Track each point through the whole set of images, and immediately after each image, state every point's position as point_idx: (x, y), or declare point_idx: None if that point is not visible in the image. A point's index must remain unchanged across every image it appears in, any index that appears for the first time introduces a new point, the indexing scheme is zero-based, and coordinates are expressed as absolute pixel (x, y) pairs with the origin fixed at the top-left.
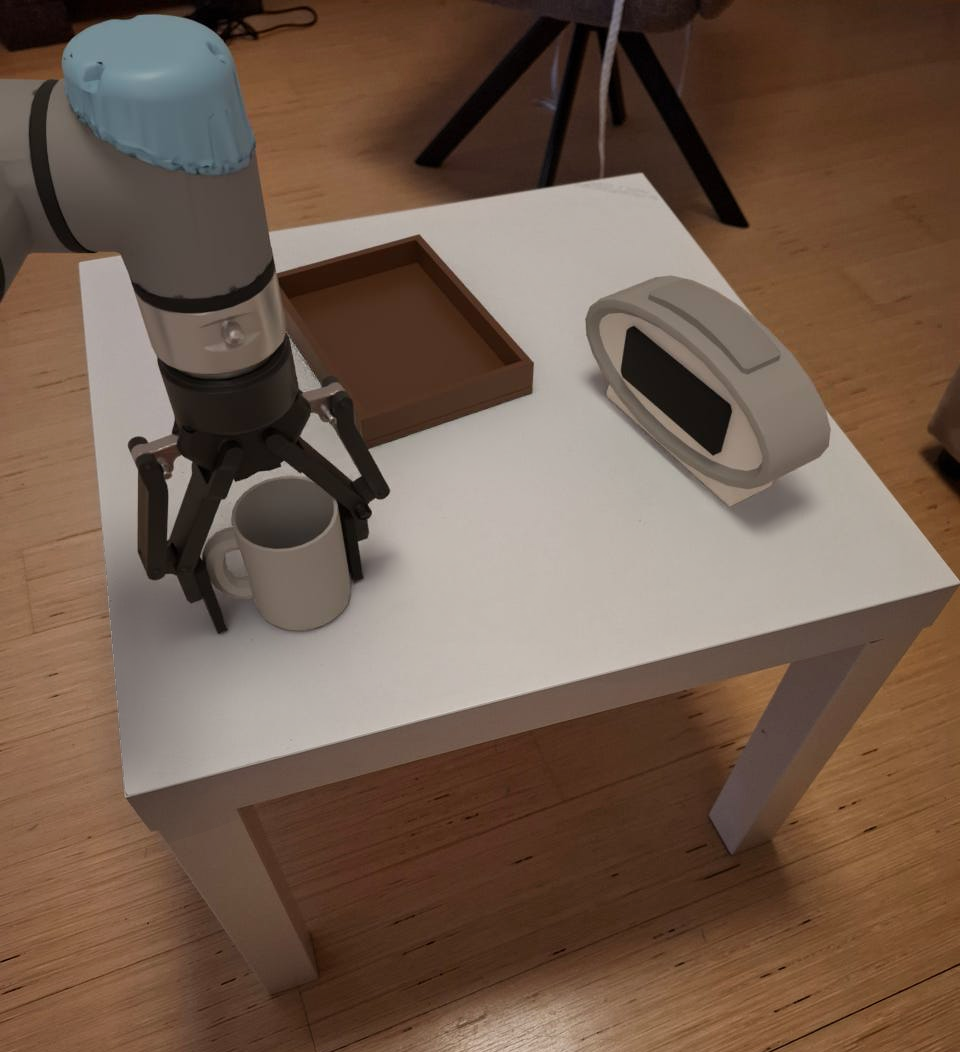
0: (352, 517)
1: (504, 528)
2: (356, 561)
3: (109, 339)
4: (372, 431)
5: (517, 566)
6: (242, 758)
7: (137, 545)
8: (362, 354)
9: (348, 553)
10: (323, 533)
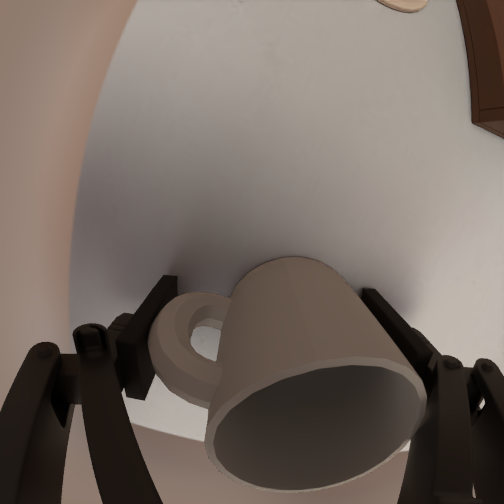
0: None
1: (490, 322)
2: None
3: None
4: (497, 126)
5: (464, 365)
6: (155, 428)
7: (25, 358)
8: (501, 15)
9: None
10: (342, 481)
